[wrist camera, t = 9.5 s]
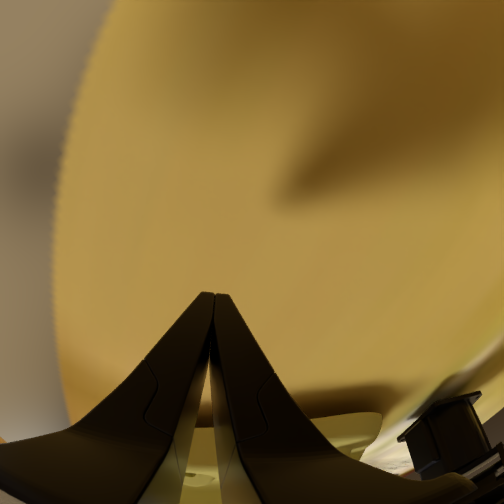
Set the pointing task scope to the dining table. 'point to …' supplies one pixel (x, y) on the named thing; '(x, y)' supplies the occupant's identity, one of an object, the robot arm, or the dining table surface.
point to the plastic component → (333, 427)
